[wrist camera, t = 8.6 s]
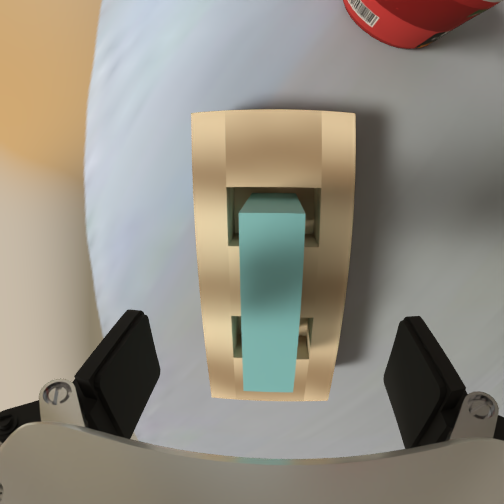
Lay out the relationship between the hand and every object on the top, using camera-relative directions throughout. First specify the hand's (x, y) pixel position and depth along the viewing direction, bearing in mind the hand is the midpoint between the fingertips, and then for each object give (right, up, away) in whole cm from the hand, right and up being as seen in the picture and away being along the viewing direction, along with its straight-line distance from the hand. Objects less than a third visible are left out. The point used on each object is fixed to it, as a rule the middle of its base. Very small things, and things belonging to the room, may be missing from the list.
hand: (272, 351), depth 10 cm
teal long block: (+1, +3, +10) cm, 11 cm away
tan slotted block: (+1, +3, +11) cm, 12 cm away
